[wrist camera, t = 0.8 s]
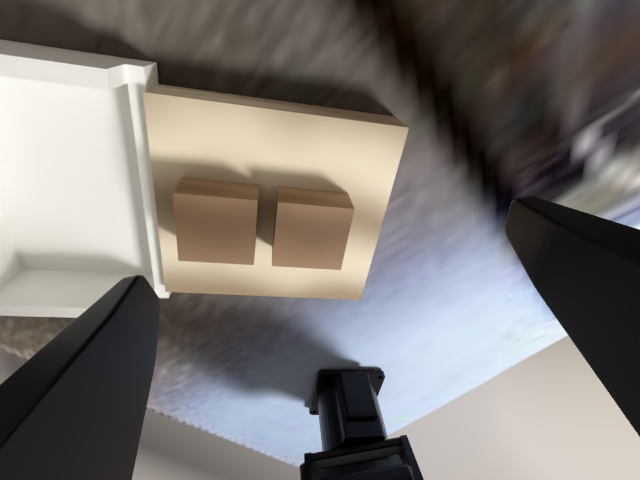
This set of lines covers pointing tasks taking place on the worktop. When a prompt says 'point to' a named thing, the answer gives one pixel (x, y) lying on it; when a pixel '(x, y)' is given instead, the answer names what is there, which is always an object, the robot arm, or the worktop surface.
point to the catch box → (73, 179)
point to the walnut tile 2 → (311, 228)
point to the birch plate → (270, 180)
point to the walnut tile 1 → (216, 221)
